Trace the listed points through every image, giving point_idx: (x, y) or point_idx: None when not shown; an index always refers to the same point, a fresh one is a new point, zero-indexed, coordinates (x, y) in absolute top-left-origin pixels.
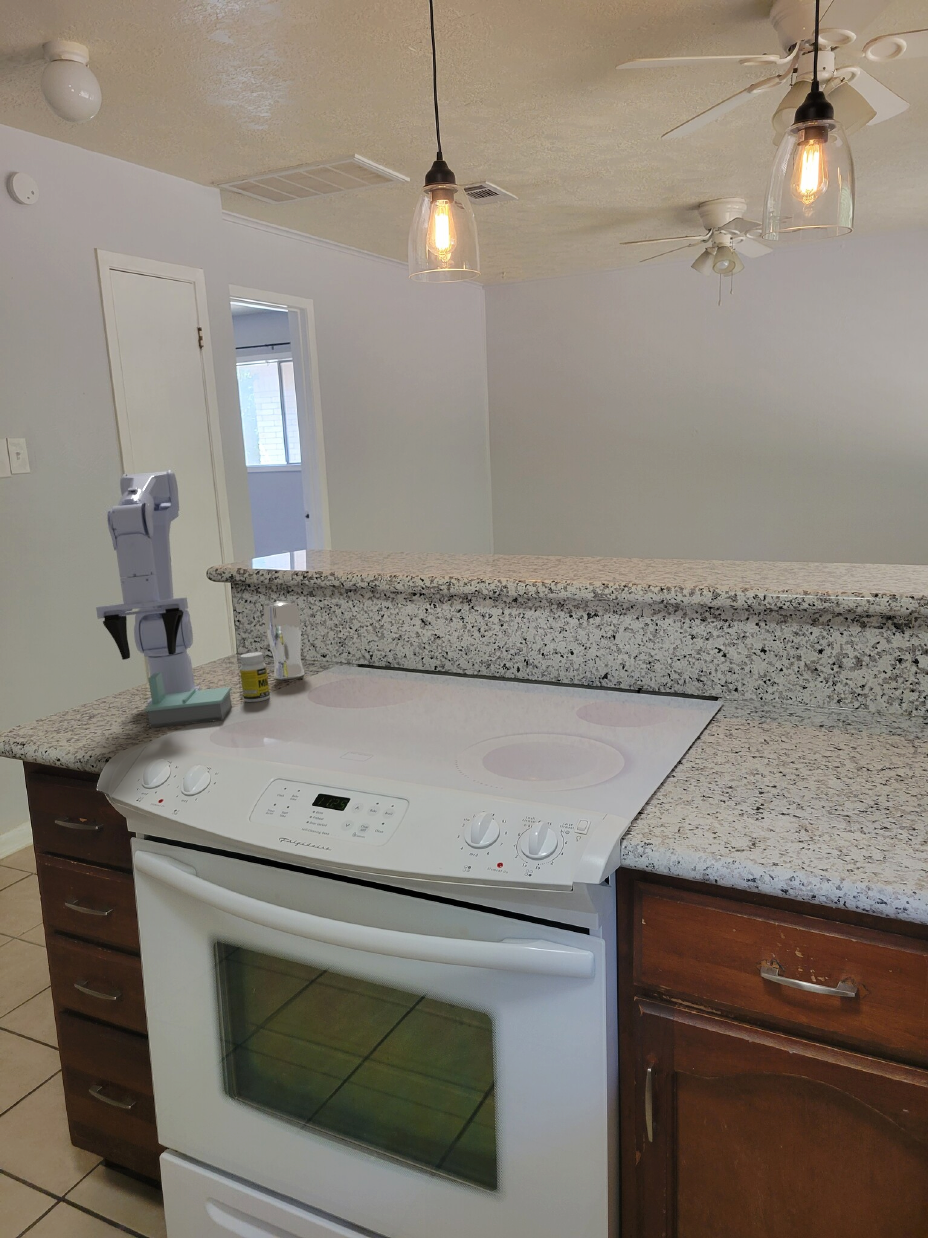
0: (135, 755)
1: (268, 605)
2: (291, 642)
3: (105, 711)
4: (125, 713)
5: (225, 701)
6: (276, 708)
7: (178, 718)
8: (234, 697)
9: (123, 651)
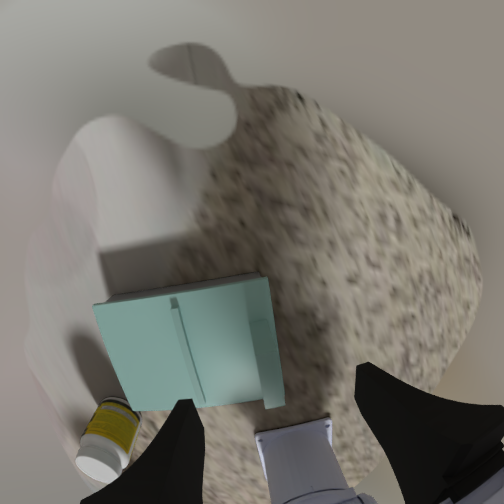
0: (204, 84)
1: None
2: None
3: None
4: (355, 379)
5: None
6: (55, 344)
7: (194, 286)
8: None
9: (375, 377)
